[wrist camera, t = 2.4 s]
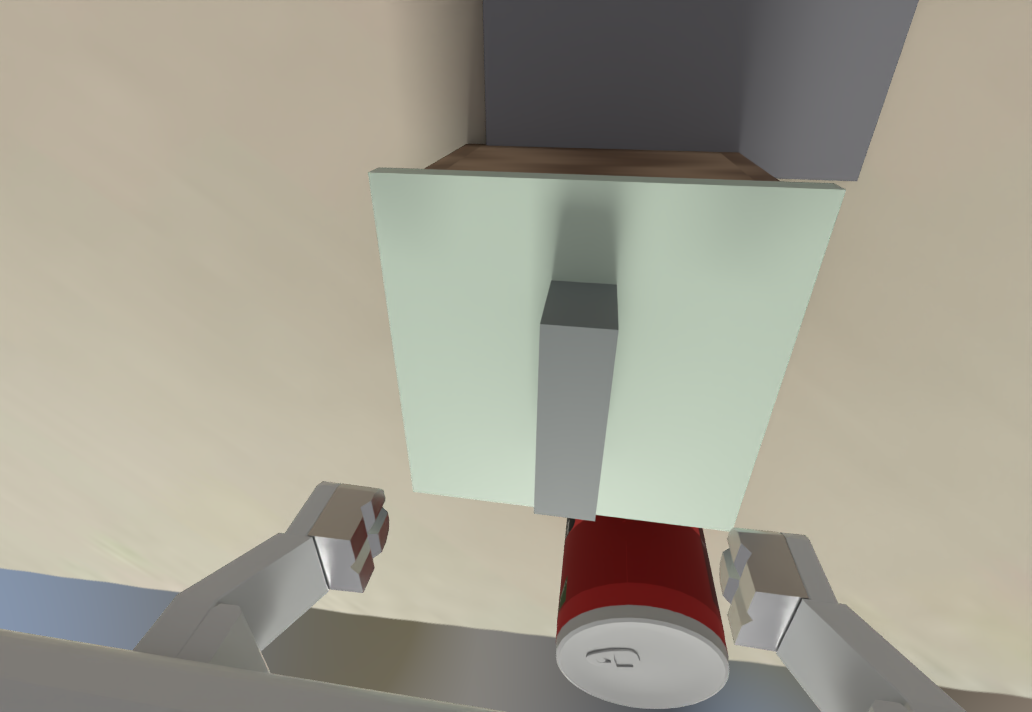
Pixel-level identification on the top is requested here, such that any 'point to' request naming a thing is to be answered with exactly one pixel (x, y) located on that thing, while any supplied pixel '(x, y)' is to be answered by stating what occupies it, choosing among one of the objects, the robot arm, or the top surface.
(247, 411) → the top surface
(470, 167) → the crate
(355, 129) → the top surface
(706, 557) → the canned food
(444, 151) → the top surface
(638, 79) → the dark grey flat plate
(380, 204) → the lid
